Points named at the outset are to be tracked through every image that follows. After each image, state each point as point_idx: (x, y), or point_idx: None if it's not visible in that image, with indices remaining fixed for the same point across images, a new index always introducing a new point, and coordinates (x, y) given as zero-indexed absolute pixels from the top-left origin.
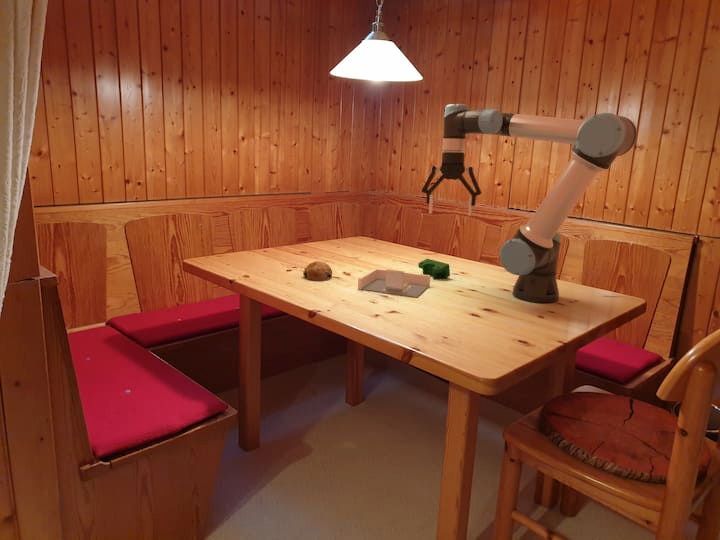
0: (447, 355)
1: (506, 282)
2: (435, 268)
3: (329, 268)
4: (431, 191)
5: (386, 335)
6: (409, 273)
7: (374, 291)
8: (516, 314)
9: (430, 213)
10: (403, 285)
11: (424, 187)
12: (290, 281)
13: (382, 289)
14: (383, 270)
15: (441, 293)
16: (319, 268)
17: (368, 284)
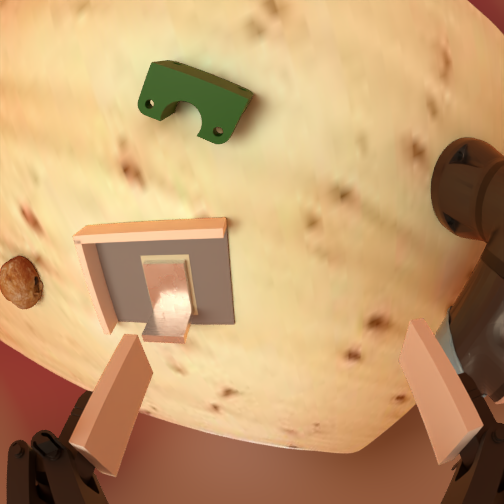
0: (322, 445)
1: (410, 66)
2: (210, 138)
3: (25, 285)
4: (103, 496)
5: (255, 439)
6: (162, 238)
7: (144, 321)
8: None
9: (150, 373)
10: (181, 290)
11: (49, 499)
12: (24, 318)
13: (150, 308)
14: (96, 242)
15: (273, 265)
16: (25, 307)
17: (108, 287)
